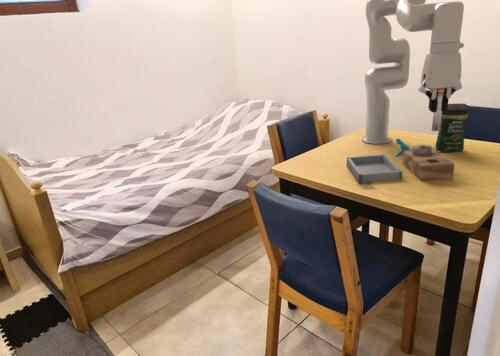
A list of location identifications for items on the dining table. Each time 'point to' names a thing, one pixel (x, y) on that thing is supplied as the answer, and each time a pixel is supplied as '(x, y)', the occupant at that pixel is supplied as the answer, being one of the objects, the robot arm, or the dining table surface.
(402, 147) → the gear
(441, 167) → the tensioner block
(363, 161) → the tray
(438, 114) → the pin
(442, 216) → the dining table surface
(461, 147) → the coffee jar
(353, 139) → the dining table surface
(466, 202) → the dining table surface
